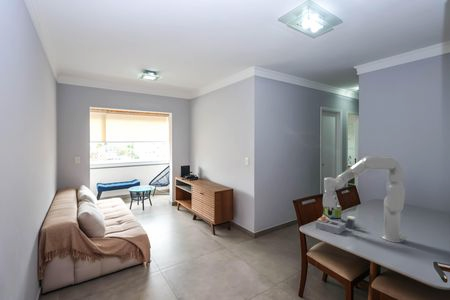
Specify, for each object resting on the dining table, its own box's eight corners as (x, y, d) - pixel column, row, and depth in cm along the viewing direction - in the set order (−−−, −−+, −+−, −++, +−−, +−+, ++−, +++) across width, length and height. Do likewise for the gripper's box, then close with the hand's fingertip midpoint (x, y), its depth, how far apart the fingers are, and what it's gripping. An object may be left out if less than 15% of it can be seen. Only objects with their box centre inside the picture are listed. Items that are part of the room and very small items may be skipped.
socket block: (345, 229, 178) (345, 223, 178) (338, 234, 169) (338, 228, 169) (323, 223, 192) (323, 217, 191) (315, 227, 182) (315, 221, 182)
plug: (354, 228, 181) (355, 217, 180) (353, 229, 178) (353, 218, 177) (348, 226, 184) (349, 215, 184) (346, 228, 181) (346, 217, 181)
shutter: (329, 220, 184) (329, 216, 184) (325, 222, 179) (325, 218, 179) (321, 218, 189) (321, 214, 189) (317, 220, 185) (317, 216, 184)
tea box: (341, 223, 191) (342, 206, 191) (330, 223, 191) (330, 206, 191) (333, 217, 207) (333, 201, 206) (322, 217, 206) (322, 201, 206)
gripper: (340, 193, 177) (341, 216, 177) (322, 190, 188) (322, 212, 189) (337, 195, 172) (337, 218, 172) (318, 192, 183) (318, 214, 183)
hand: (330, 215), depth 180 cm, fingers closed
